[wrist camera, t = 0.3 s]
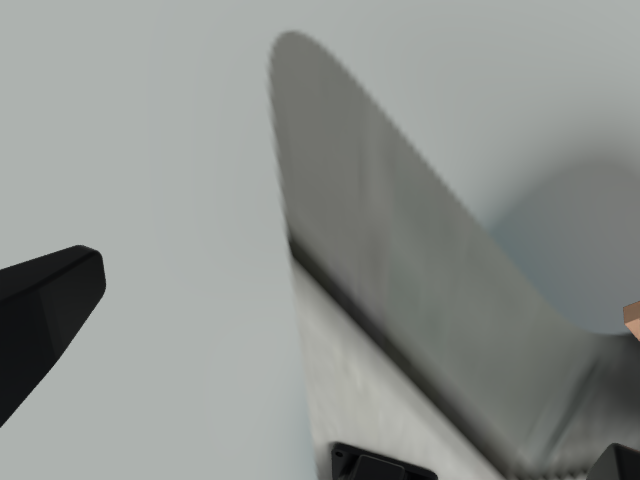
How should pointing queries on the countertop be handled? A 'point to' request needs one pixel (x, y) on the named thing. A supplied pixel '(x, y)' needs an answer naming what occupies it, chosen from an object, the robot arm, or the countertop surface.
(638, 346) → the countertop surface
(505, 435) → the countertop surface
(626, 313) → the stub
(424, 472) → the robot arm
